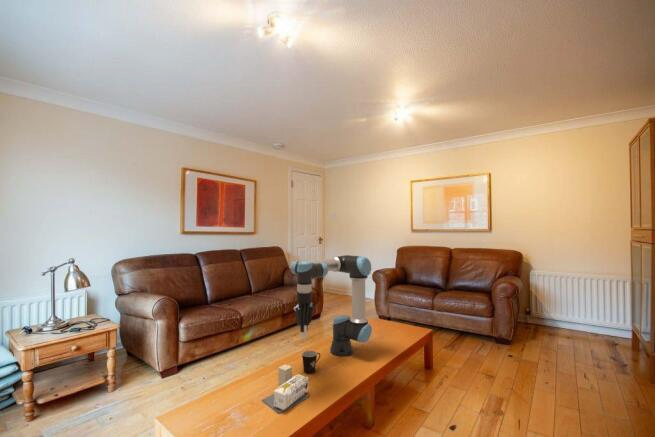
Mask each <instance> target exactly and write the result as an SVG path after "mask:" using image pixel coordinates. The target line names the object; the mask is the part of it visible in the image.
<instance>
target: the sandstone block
mask: <svg viewBox="0 0 655 437" xmlns="http://www.w3.org/2000/svg"><path fill="white" fill-rule="evenodd" d="M292 373H293V366H292V365H289V364H285V363H284V364H283V365H281V366H279V367H278V377H277V378H278V379H277V380H278V383H277V384H278V386H279V387H280V386H281V385H283V384H284V383H285V382H287V381H288V380H290V379H291V378H293V374H292Z"/></svg>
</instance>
